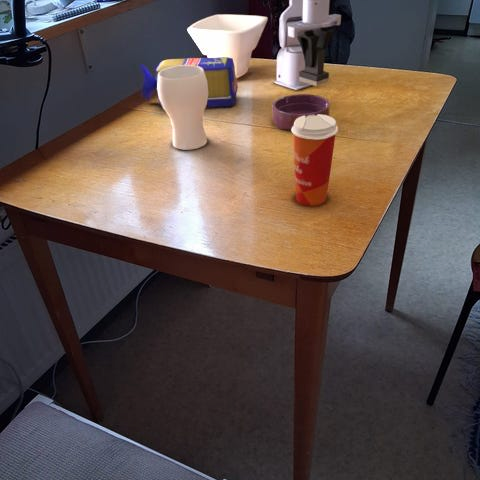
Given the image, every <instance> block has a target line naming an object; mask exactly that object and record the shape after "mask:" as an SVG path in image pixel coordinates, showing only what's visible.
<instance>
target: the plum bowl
mask: <svg viewBox="0 0 480 480" xmlns="http://www.w3.org/2000/svg"><path fill="white" fill-rule="evenodd" d="M330 112H331V102H330V100H329V99H327V98H325V97H324V96H321V95H316V94H308V93H307V94H306V93H299V94H298V93H297V94H290V95H285V96H282V97H278V98H277V99H276V100H274V101H273V102H272V104H271V120H272V124H274V125H275V126H277V127H278V128H280V129H281V130H285V131H289V132H292V131H291V129H292V127H293V126H294V122H295V120H296V119H297V118H299V117H301V116H304V115H305V118H306V116H308V115H315V116H317V115H318V114H321V115H327V116H330Z"/></svg>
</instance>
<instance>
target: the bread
mask: <svg viewBox="0 0 480 480" xmlns="http://www.w3.org/2000/svg"><path fill="white" fill-rule="evenodd" d="M178 65H195V66H199V67H201V68H202V69H203V70H204V73H205V76H206V79H207V84H208V99H207V105H206V107H205V109H206V108H207V109H208V108H209V109H210V108H231V107H232V108H233V105H234V103H236V102H235V101H236V97H237V93H238V89H239V85H238V81H237V78H236V75H235V67H234V62H233V59H232V58H228V57H215V58H208V57H189V58H171V59H165V60H162V61H160V62H159V64H158V65H157V67H156V68H155V77H153V76H152V74H151V73H150V71H149V69H148V67H146V66H145V65H144V64H142V63H139V67H140V69H141V71H142V73H143V75H144V82H143V84H142V91H141V95H142V99H143V98H145V99H147V100H148V101H147V103H149V102H150V100H151V97H152V96H153V94H154V92H155V91H156V97H157V100H158V102H159V105H160V106H161V108H162V109H163V110H164V108H163V106H162V104H161V101H160V99H159V95H158V89H157V83H158V73H159V72H160V71H161V70H163V69H165V68H168V67H172V66H178Z"/></svg>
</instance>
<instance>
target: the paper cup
mask: <svg viewBox="0 0 480 480" xmlns="http://www.w3.org/2000/svg"><path fill="white" fill-rule="evenodd" d="M290 132H291V133H292V137H293V161H294V163H293V164H294V166H293V167H294V189H295V200H296V202H298V204H300V205H303V206H308V207H315V206H320V205H322V204H324V203H325V202H326V200H327V197H328V196H327V195H328V191H329V184H330V178H331V171H332V164H333V155H334V149H335V141H336V134H337V133H338V132H339V127H338V126H337V121H336V119H335V118H334V117H332V116H330V115H329V116H327V115H321V114H318V115H317V116H315V115H308V116H306V118H305V115H304V116H301V117H299V118H297V119H296V120H295V122H294V126H293V127H292V129H291V131H290Z"/></svg>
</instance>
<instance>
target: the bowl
mask: <svg viewBox="0 0 480 480" xmlns="http://www.w3.org/2000/svg"><path fill="white" fill-rule="evenodd" d="M268 19H269V18H268V17H267V16H262V15H252V14H251V15H248V14H227V13H226V14H214V15H210V16H207V17H205V18H202V19H200V20H198V21H196V22H194V23H192V24H191V25H190V26H189V27H187V32H188V35H190V37H191V38H192V40H193V41H194V43H195V44H196V46H197V48H198V49H199V50H200V52H201V53H202V55H204V56H207V57H206V58H215V57H228V58H232V59H233V62H234V67H235V75H236V79H238V78H240V77H242V76H244V75H245V74H247V73H248V71H249V69H250V68H249V67H250V63H251V59H252V53H253V51H254V50H255V49H256V47H257V46H258V44H259V41H260V39H261V37H262V33H263V32H264V29H265V27H266V25H267V22H268Z"/></svg>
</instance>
